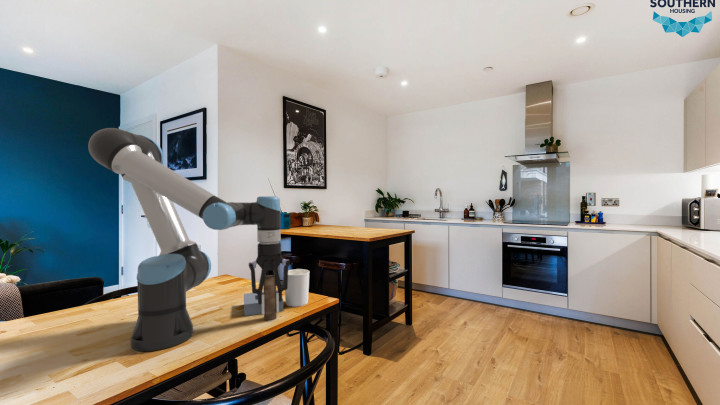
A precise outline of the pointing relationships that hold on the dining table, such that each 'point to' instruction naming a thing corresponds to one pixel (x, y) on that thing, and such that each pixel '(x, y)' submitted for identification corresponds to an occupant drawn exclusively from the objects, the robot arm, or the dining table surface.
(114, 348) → the dining table surface
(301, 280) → the candle holder
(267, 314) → the peg
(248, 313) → the socket block
